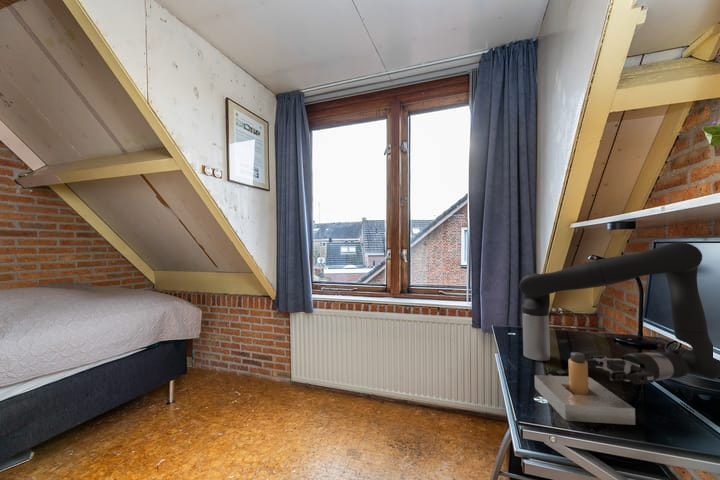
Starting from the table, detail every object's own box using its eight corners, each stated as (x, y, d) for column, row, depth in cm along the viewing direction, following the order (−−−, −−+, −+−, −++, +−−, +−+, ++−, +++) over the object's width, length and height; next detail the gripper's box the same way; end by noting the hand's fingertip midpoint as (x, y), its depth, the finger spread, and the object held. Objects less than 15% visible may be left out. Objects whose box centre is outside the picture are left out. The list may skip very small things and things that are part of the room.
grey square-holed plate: (534, 387, 95) (534, 374, 95) (590, 390, 93) (590, 377, 93) (565, 420, 77) (565, 404, 77) (635, 424, 75) (634, 408, 75)
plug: (566, 399, 87) (564, 351, 88) (583, 400, 87) (581, 351, 87) (575, 407, 83) (573, 356, 83) (592, 408, 82) (590, 357, 83)
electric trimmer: (591, 378, 102) (591, 368, 102) (554, 383, 98) (554, 373, 98) (580, 373, 106) (580, 364, 106) (544, 378, 102) (544, 369, 102)
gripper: (622, 345, 95) (575, 348, 93) (674, 362, 81) (620, 366, 79) (623, 369, 95) (576, 372, 93) (675, 391, 80) (621, 395, 79)
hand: (596, 369), depth 86 cm, fingers open, 8 cm apart
